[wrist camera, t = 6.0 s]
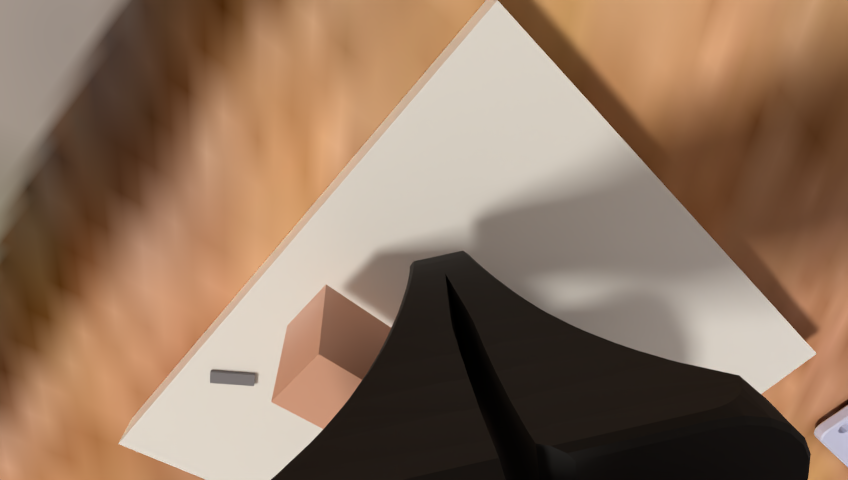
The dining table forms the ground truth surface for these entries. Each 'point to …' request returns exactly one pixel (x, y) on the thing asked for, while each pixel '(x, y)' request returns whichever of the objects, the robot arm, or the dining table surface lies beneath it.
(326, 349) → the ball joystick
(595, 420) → the robot arm
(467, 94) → the joystick base
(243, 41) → the dining table surface
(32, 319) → the dining table surface
